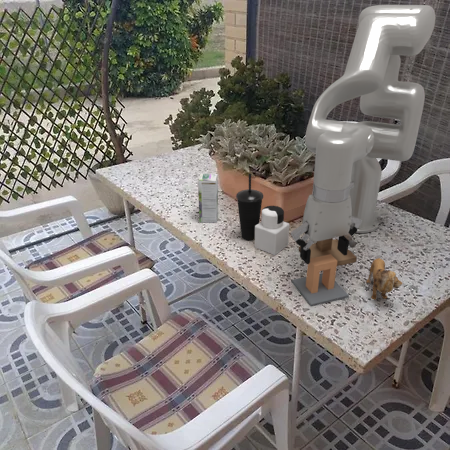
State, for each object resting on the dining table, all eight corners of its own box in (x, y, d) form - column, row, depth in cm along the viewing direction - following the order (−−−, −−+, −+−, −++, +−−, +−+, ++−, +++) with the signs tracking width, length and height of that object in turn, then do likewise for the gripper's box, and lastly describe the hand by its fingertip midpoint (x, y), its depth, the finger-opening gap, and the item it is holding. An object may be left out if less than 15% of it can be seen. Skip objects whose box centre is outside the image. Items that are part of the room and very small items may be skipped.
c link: (327, 281, 104) (330, 254, 100) (333, 288, 102) (337, 260, 98) (305, 286, 103) (308, 259, 99) (311, 293, 100) (314, 266, 96)
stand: (336, 243, 121) (341, 205, 115) (368, 273, 108) (375, 233, 102) (298, 251, 117) (301, 213, 111) (327, 283, 105) (332, 242, 99)
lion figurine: (398, 309, 96) (406, 277, 91) (375, 309, 96) (381, 277, 91) (378, 271, 108) (384, 241, 104) (357, 271, 109) (362, 242, 104)
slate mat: (326, 273, 108) (327, 271, 108) (348, 297, 100) (348, 295, 99) (291, 281, 105) (291, 279, 105) (310, 306, 97) (311, 304, 97)
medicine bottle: (268, 237, 124) (269, 200, 118) (288, 245, 120) (291, 207, 114) (253, 247, 120) (254, 210, 114) (274, 256, 116) (276, 217, 110)
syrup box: (200, 214, 138) (198, 173, 131) (218, 214, 137) (217, 173, 130) (199, 222, 133) (196, 180, 126) (218, 222, 132) (216, 180, 125)
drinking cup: (247, 246, 120) (247, 182, 110) (231, 235, 125) (230, 173, 116) (267, 237, 124) (269, 174, 114) (251, 227, 129) (251, 166, 120)
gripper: (355, 177, 95) (347, 241, 104) (286, 190, 91) (283, 255, 99) (376, 191, 89) (365, 257, 98) (302, 205, 84) (297, 273, 93)
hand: (323, 256), depth 98 cm, fingers open, 9 cm apart
